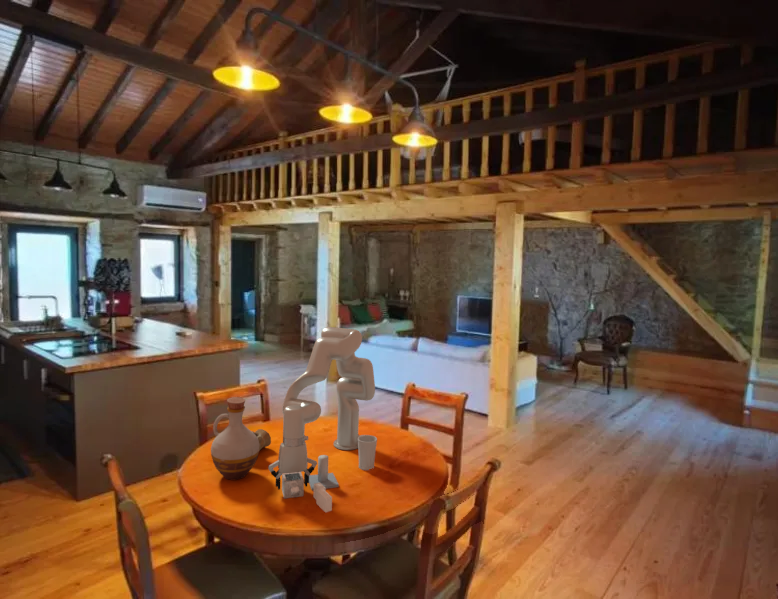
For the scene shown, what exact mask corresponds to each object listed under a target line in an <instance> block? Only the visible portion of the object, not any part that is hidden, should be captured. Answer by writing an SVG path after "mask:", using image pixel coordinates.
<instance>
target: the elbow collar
mask: <svg viewBox="0 0 778 599" xmlns="http://www.w3.org/2000/svg"><path fill="white" fill-rule="evenodd" d="M304 487H305V484H304V475H303V473H302V472H294V473H283V474H282V475H281V491H282V492H281V493H282V495H283V499H290V498H298V497H304V495H305V493H304V492H305V491H304V490H305V489H304Z"/></svg>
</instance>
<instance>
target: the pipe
mask: <svg viewBox="0 0 778 599" xmlns="http://www.w3.org/2000/svg"><path fill="white" fill-rule="evenodd" d="M251 431H252V432H253V433H254V434H255V435H256V437H257V438H258V440H259V445H260V446H259V451H260V450H262V449H263V448H266V447H269V446H270V445H271V444H272V440H271V439H272V438H271V434H270V433H269V432H268V431H267V430H264V429H262V428H259V429H257V430H255V431H253V430H251Z"/></svg>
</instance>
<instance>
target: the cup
mask: <svg viewBox="0 0 778 599" xmlns="http://www.w3.org/2000/svg"><path fill="white" fill-rule="evenodd" d="M361 435H362V436H359V437H358V448H357V449H358V450H357V451H358V453H357V454H358V468H359V469H360V470H362V471H370V470H369V469H372V468H373V469H374V468H375V459H376V452H377V451H376V449H377V445H378V444H377V443H378V438H377V437H376V436H375V435H370V434H361ZM373 469H372V470H373Z"/></svg>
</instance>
